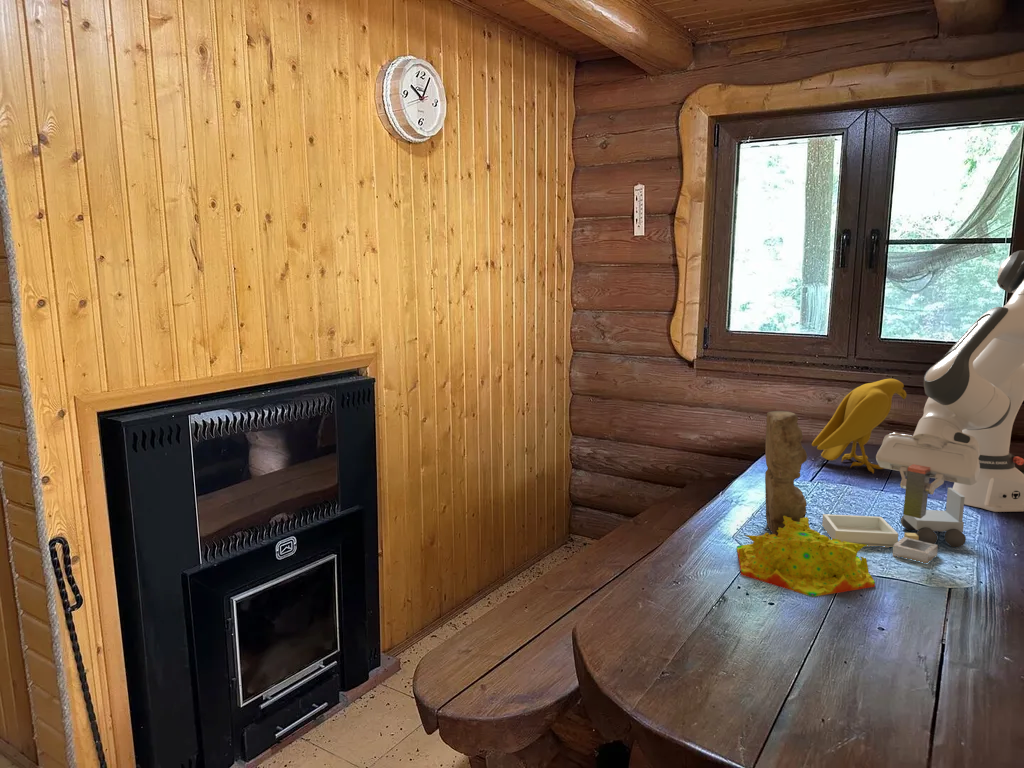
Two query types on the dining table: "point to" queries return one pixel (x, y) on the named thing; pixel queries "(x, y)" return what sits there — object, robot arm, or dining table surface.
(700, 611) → the dining table surface
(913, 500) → the pin
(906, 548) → the bracket
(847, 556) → the decorative piece
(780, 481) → the sculpture
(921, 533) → the trolley
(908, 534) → the block
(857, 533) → the tray
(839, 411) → the sculpture
